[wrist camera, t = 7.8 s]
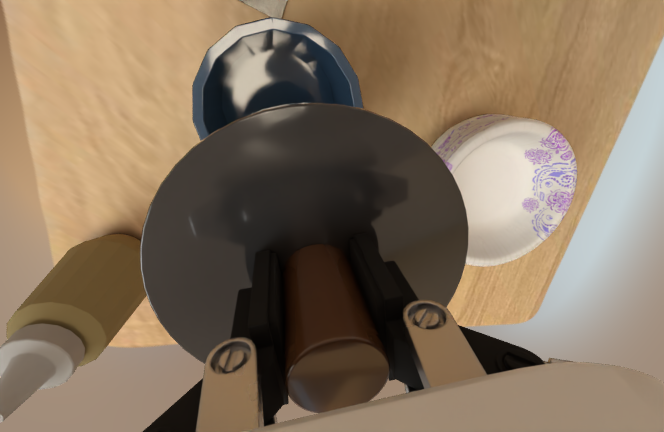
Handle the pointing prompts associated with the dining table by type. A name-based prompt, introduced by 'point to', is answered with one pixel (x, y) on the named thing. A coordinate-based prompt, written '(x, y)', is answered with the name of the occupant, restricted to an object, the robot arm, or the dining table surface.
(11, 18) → the dining table surface
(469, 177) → the paper bowls
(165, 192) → the lid
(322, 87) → the pot
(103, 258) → the squeeze bottle
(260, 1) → the condiment
